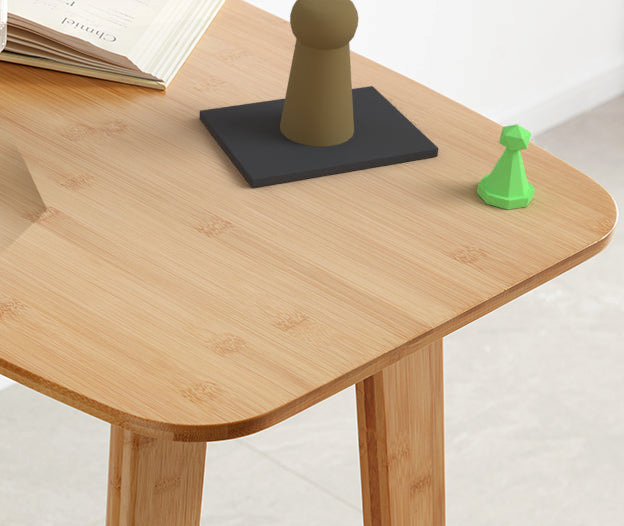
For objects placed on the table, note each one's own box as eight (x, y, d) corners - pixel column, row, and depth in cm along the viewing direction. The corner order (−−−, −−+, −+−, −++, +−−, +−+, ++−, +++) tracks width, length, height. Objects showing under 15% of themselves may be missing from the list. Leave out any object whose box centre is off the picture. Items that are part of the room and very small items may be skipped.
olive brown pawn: (269, 137, 90) (274, 4, 84) (293, 106, 95) (300, -22, 88) (341, 152, 89) (352, 18, 82) (363, 120, 94) (375, -9, 87)
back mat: (252, 188, 85) (252, 179, 85) (199, 118, 94) (199, 110, 93) (437, 156, 91) (439, 147, 90) (371, 93, 100) (372, 85, 99)
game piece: (544, 198, 87) (559, 127, 83) (508, 215, 84) (521, 143, 81) (501, 175, 89) (514, 105, 85) (465, 191, 87) (476, 120, 83)
